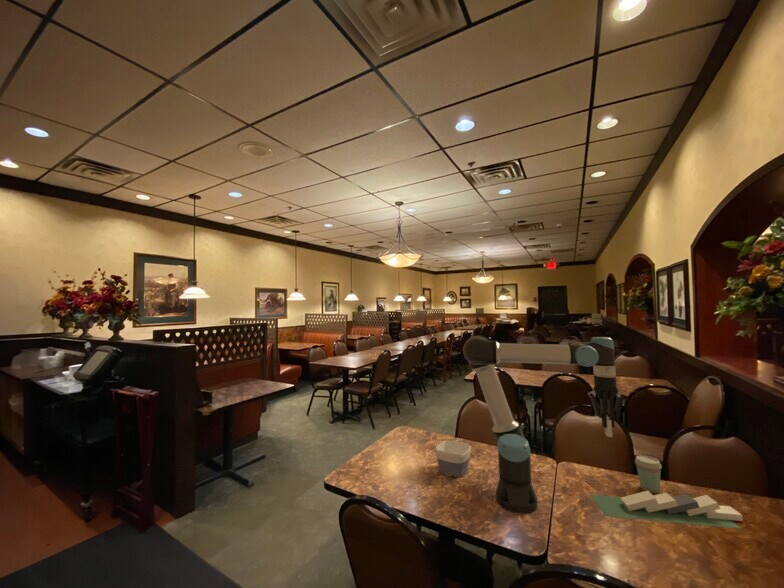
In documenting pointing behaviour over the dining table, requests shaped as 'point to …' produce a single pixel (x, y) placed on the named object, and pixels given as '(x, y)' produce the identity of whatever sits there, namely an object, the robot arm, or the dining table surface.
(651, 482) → the coffee cup
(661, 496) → the domino
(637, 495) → the domino
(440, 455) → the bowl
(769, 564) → the dining table surface
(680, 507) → the slate domino
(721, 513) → the domino
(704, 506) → the domino
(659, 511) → the mat
